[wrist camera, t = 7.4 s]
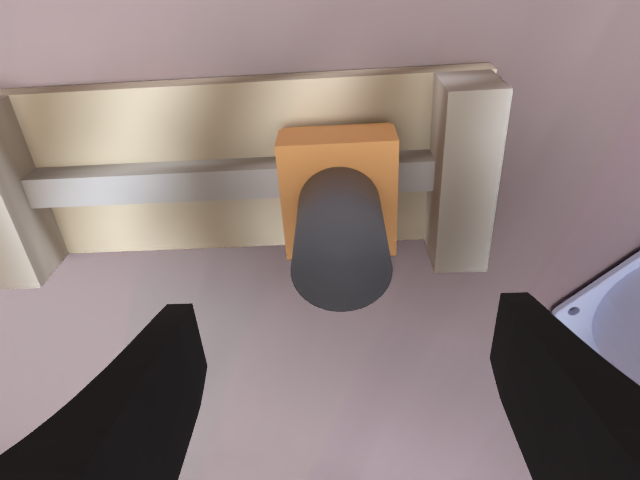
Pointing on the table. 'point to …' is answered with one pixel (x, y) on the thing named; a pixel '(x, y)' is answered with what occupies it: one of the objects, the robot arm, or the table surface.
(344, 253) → the carriage
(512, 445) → the table surface
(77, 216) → the rail
